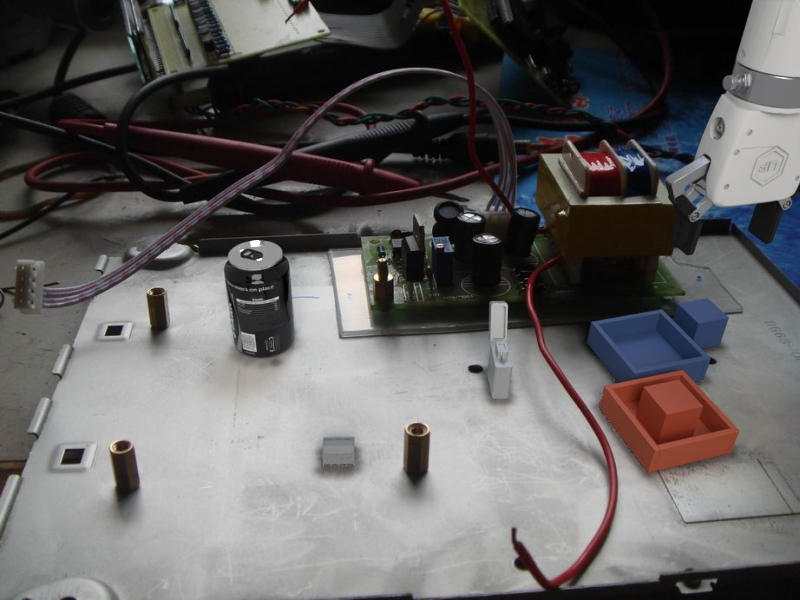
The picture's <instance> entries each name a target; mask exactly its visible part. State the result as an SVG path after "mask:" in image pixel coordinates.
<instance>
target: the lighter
mask: <svg viewBox="0 0 800 600" xmlns="http://www.w3.org/2000/svg"><path fill="white" fill-rule="evenodd" d="M508 313H509V304H508V303H507V302H506V301H505V300H490V302H489V307H488V339H489V341H490V344H489V353H488V354H489V355H488V363H487V371H486V375H487V381H488V386H489V391H490V396H491V398H492V399H493V400H507V399H508V398H509V396H510V387H511V380H512V373H513V367H514V366H513V362H512V358H511V353H510V349H509V344H508V342H507V341H508V320H509V319H508V318H509V317H508V316H509V315H508Z"/></svg>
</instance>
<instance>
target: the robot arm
mask: <svg viewBox="0 0 800 600" xmlns="http://www.w3.org/2000/svg"><path fill="white" fill-rule="evenodd" d="M722 88H723V89H724V90H725V91H726V92H725V93H723V94H721V96H720V97H719V99H718V101H717V102H716V104H715V107H714V109H713V110H712V113H711V115H710V117H709V120H708V121H707V124H706V127H705V129H704V131H703V134H702V136H701V139H700V142H699V145H698V147H697V151H696V154H695V157H694V160H693V161H692V162H690V163H688V164H687V165H685V166H684V167H682V168H679V169H678V170H676V171H674V172H673V173H671V174H669V175H667V176H666V178H665V180H664V182H665V183H664V184H665V187H666V191H667V194H668V195H667V198H668V201H670V203H671V204H672V206H673V207H674V209H675V210H676V211H677V212H678V213H677V216H676V219H675V224H674V227H673V231H672V234H671V238H670V241H671V243H672V245H674V247H676V248H677V249H678V250H679V251H680V252H682V253H683V254H684V255H685V256H692V255H694V253H695V251H696V247H697V245H698V241H699V239H700V235H701V232H702V228H703V223H704V222H703V221H702V220H701V219H700V218H702V217H703V215H705V214H706V213H707V212H708V210H710V209H711V208H712V207H713V206H716V207H718V208H731V207H732V208H733V207H741V206H748V205H755V207H754V210H753V212H752V215H751V217H750V220H749V223H748V227H747V232H748V233H749V234H751V235H752V236H754V237H755V238H756V239H758V240H759V241H760V242H762V243H763V244H765V245H769V244H772V243H773V241H774V239H775V235H776V234H777V231H778V227H779V225H780V222H781V220H782V217H783V215H784V211H787V210H788V209H790V208H791V207H792V204H793V200H794V199H795V198H796V197H798V195H800V0H752V2H751V5H750V9H749V12H748V16H747V19H746V23H745V27H744V29H743V34H742V36H741V41H740V44H739V47H738V50H737V53H736V58H735V61H734V64H733V68H732V71H731V75H730V74H729V75H725V77H724V78H723V79H722ZM687 186H689V187H688V189H687V190H686V188H687ZM698 197H702V198H701V199H700V200H699V201H698V202H697V203H696V204H695V205H694V204H693V202H695V201H696V199H697V198H698Z"/></svg>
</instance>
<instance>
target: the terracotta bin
mask: <svg viewBox="0 0 800 600" xmlns="http://www.w3.org/2000/svg"><path fill="white" fill-rule="evenodd" d="M675 380H680V381H681V382H682V384H683V385H684V386H685V387H686V388H687V389H688V390H689V391H690V392H691V393H692V395H693V396H694V397H695V398H696V399H697V400H698V401H699V402H700V403H701V404H702V406H703V408H702V411H701V414H700V417H699V420H698V423H697V426H696V429H695V432H694V434H693V436H691V437H687V438H682V439H678V440H674V441H669V442H665V443H661V444H657V443H656V442H655V440H654V439H653V438H652V436H651V435H650V434H649V433H648V431H647V430H646V429H645V428H644V426H643V425H642V424H641V423H640V421H639V420H638V419H637V417H636V413H637V410H638V406H639V402H640V399H641V395H642V392H643V388H644V387H645V386H650V385H655V384H660V383H665V382H670V381H675ZM598 407H599V409H600V410H601V412H602V414H604V416H605V417H606V419H607V420H608V421H609V423H610V424H611V426H612V427H613V428H614V429H615V430H616V432H617V434H618V435H619V436H620V437H621V439H622V440H623V441H624V443H625V444H626V446H627V447H628V448H629V450H630V451H631V452H632V454H633V455H634V456H635V457H636V459H637V460H638V461H639V463H640V464H641V465H642V467H643V468H644V469H645V471H646V472H647V473H648V474H650V473H653V472H658V471H663V470H667V469H671V468H675V467H679V466H682V465H688V464H691V463H695V462H699V461H704V460H708V459H712V458H716V457H720V456H725V455H729V454H732V452H733V450H734V448H735V445H736V442H737V439H738V437H739V434H740V430H739V428H738V427H737V426H736V425H735V424H734V423H733V422H732V420H730V418H728V416H727V415H725V413H724V412H723V411H722V410H721V409H720V408H719V407H718V405H716V403H715V402H714V401H712V400H711V398H710V397H709V396H708V395H707V393H705V392H704V391H703V390H702V388H700V386H699V385H697V383H696V381H693V380H692V379H691V378H690V377H689V376H688V375H687V374H686V373H685V372H684V371H683V370H680V371H675V372H670V373H665V374H660V375H656V376H651V377H646V378H641V379H636V380H631V381H626V382H621V383H619V382H617V383H611V384H608V385H604V386H603V391H602V395H601V399H600V403H599V406H598Z"/></svg>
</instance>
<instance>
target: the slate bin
mask: <svg viewBox="0 0 800 600" xmlns="http://www.w3.org/2000/svg"><path fill="white" fill-rule="evenodd" d="M588 330H589V331H588V335H587V340H586V344H587V345H588V346H589V347H590V349H592V351H593V352H594V354H595V355H596V356H597V358H599V360H600V361H601V363H602V364H603V365H604V366H605V367H606V368H607V370H608V371H609V372H610V373H611V375H612V376H613V377H614V378H615V380H616V381H617V383H621V382H626V381H631V380H636V379H641V378H646V377H651V376H656V375H660V374H665V373H670V372H675V371H680V370H683V371H684V372H685V373H686V374H687V375H688V376H689V377H690V378H691V379H692V380H693V381H694V382H698V381H704V380H705V377H706V374H707V371H708V368H709V365H710V362H711V357H710V356H709V355H708V353H706V351H704V349H701V348H700V347H699V346H698V345H697V344H696V343H695V342H694V341H693V340H692V339H691V338H690V337H689V336H688V335H687V334H686V333H685V332H684V331H683V330H682V329H681V328H680V327H679V326H678V325H677V324H676V323H675V322H674V321H673V319H672V318H671V316H669V314H667V313H666V312H665V311H664V309H662V308H661V309H655V310H651V311H645V312H639V313H634V314H628V315H622V316H617V317H611V318H605V319H600V320H594V321H590V327H589V329H588Z"/></svg>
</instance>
